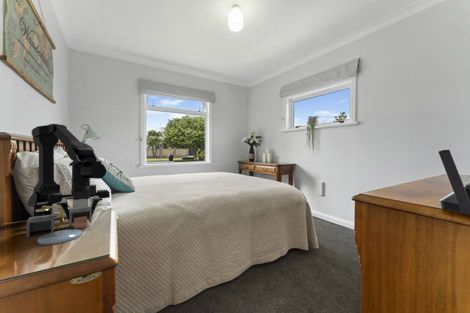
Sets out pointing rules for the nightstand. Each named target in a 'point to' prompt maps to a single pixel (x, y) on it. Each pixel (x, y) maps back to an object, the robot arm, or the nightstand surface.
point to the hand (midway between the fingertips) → (80, 218)
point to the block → (80, 221)
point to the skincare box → (81, 203)
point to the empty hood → (40, 223)
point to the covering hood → (80, 213)
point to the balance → (62, 220)
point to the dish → (59, 237)
